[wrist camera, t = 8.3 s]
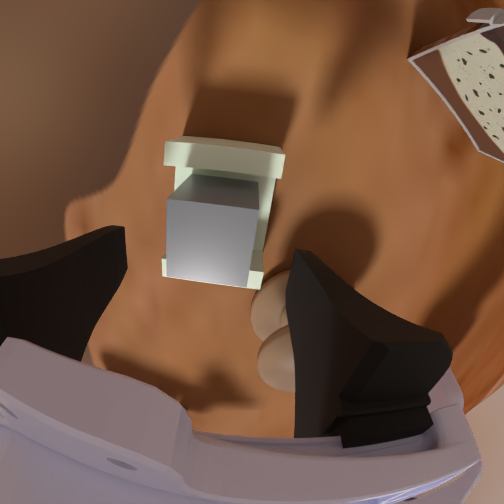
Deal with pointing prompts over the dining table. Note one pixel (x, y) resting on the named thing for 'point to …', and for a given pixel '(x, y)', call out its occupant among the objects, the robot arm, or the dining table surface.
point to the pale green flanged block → (230, 166)
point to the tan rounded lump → (274, 333)
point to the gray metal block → (212, 229)
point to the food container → (471, 77)
